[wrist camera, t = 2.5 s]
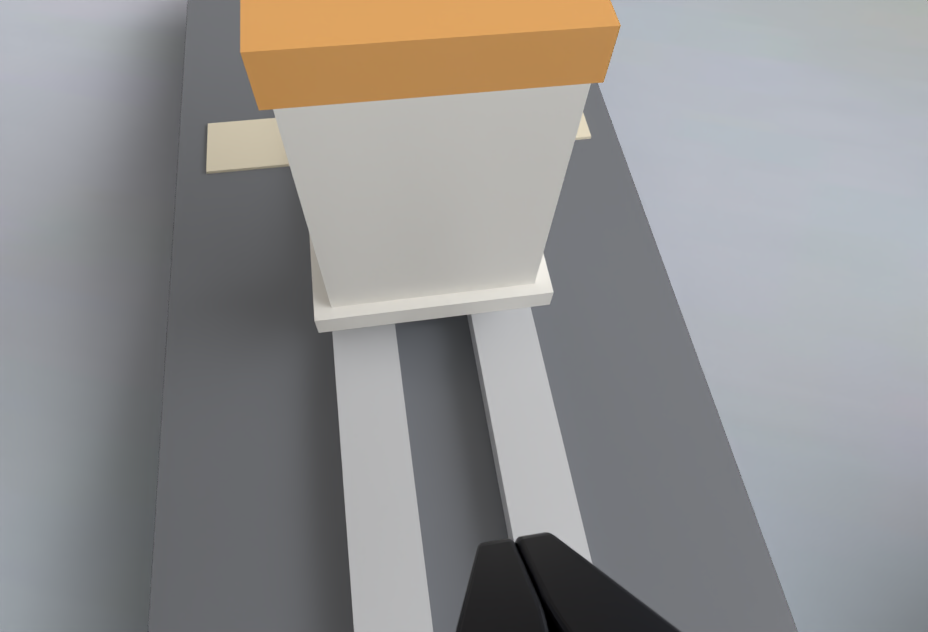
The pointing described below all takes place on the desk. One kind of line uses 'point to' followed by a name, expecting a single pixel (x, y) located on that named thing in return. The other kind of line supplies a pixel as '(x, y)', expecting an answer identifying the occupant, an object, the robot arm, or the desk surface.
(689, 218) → the desk surface
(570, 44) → the fader lever
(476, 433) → the fader console
